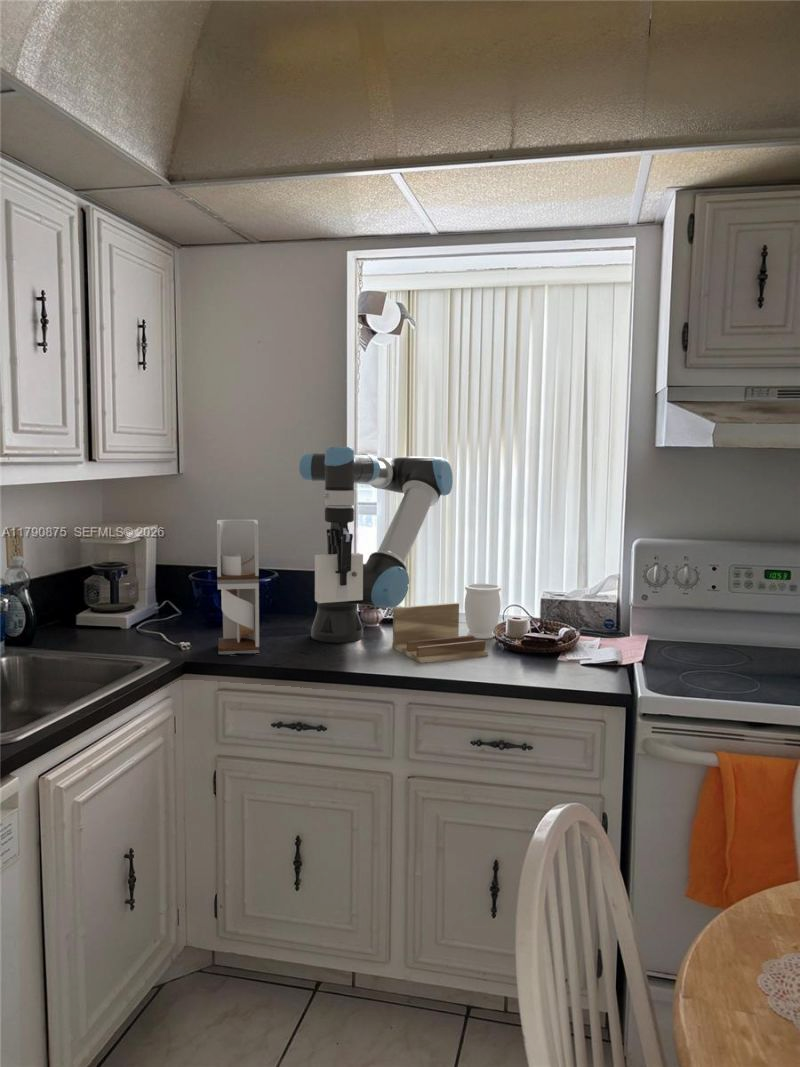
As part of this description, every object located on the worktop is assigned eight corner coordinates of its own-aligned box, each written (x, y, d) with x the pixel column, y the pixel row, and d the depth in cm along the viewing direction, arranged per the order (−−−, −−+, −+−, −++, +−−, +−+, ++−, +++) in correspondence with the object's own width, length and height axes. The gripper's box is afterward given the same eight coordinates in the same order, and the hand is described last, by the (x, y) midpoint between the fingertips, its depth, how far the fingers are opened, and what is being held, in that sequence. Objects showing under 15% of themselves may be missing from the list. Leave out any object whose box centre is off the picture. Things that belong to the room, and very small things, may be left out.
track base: (392, 647, 222) (392, 607, 221) (455, 640, 230) (456, 602, 229) (420, 663, 206) (421, 620, 204) (487, 655, 214) (488, 614, 213)
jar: (490, 631, 243) (492, 582, 241) (505, 639, 233) (507, 588, 231) (458, 633, 239) (459, 584, 238) (472, 641, 230) (473, 590, 228)
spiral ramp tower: (218, 645, 221) (217, 519, 218) (257, 643, 223) (257, 519, 220) (218, 655, 210) (216, 523, 206) (259, 654, 212) (258, 523, 209)
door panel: (314, 600, 207) (314, 555, 206) (357, 597, 212) (358, 552, 211) (319, 603, 204) (319, 557, 202) (363, 600, 209) (363, 554, 207)
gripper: (315, 504, 212) (315, 591, 214) (336, 509, 196) (336, 602, 199) (342, 504, 215) (341, 589, 217) (364, 508, 200) (364, 600, 202)
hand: (339, 595), depth 208 cm, fingers closed on door panel, 3 cm apart
